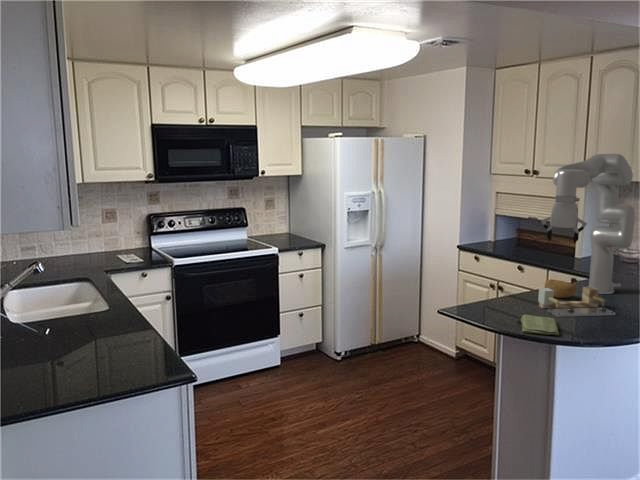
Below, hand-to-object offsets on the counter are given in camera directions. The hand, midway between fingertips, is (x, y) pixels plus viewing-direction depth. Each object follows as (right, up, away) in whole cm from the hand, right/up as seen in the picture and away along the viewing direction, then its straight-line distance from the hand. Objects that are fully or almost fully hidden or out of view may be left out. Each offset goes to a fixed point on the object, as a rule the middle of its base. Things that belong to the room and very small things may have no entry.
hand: (562, 241), depth 220 cm
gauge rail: (+7, -29, +6) cm, 31 cm away
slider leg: (-3, -27, +5) cm, 28 cm away
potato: (+10, -26, +25) cm, 38 cm away
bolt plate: (+8, -30, 0) cm, 31 cm away
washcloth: (-17, -34, -18) cm, 42 cm away
